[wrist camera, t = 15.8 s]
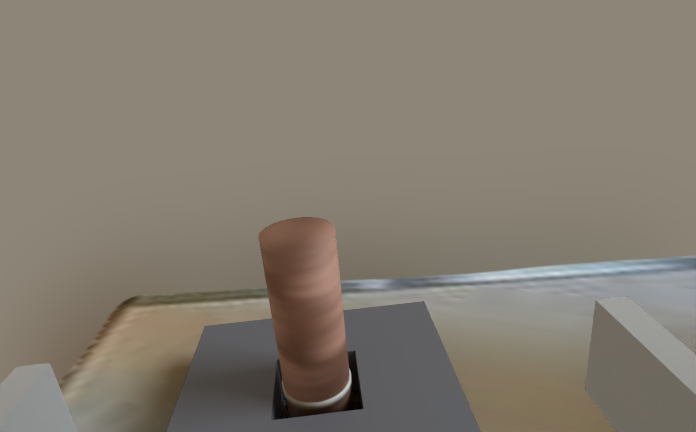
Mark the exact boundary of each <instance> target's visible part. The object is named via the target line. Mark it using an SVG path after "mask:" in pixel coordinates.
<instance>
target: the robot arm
mask: <svg viewBox="0 0 696 432" xmlns="http://www.w3.org/2000/svg"><path fill="white" fill-rule="evenodd" d="M585 390H586V392H587V393H588V394H589V396H590V397H591V398H592V400H593V401H594V402H595V404H596V405H597V406H598V408H599V409H600V410H601V411H602V413H603V414H604V415H605V417H606V418H607V419H608V421H609V422H610V423H611V425H612V426H613V427H614V429H615V430H616V431H617V432H696V354H695V353H693V352H692V351H691V350H690V349H689V348H688V347H686V346H685V345H684V344H683V343H682V342H680V341H679V340H678V339H677V338H676V337H674V336H673V335H672V334H671V333H670V332H669V331H667V330H666V329H665V328H664V327H663V326H661V325H660V324H659V323H658V322H657V321H655V320H654V319H653V318H652V317H651V316H649V315H648V314H647V313H646V312H645V311H644V310H642V309H641V308H640V307H639V306H638V305H636V304H635V303H634V302H633V301H632V300H630V299H629V298H628V297H627V296H625V297H617V298H608V299H599V300H596V302H595V310H594V318H593V326H592V335H591V343H590V351H589V359H588V367H587V376H586V384H585ZM0 432H78V431H77V429H76V426H75V424H74V421H73V419H72V416H71V414H70V412H69V409H68V407H67V404H66V402H65V399H64V397H63V395H62V392H61V390H60V387H59V385H58V382H57V380H56V378H55V375H54V373H53V370H52V368H51V365H50V363H45V364H36V365H28V366H19V367H16V368H15V369H14V370H13V371H12V373H11V374H10V375H9V376H8V377H7V378H6V379H5V380H4V381H3V382H2V384H1V385H0Z"/></svg>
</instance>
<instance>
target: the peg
mask: <svg viewBox="0 0 696 432" xmlns="http://www.w3.org/2000/svg"><path fill="white" fill-rule="evenodd" d="M259 242H260V247H261V254H262V260H263V266H264V271H265V278H266V284H267V290H268V296H269V302H270V308H271V314H272V320H273V326H274V332H275V338H276V343H277V349H278V355H279V361H280V367H281V373H282V388H283V393H284V396H285V398H286V403H287V409H288V415H289V418H294V417H302V416H310V415H318V414H326V413H335V412H343V411H351V410H353V403H352V393H351V383H352V379H351V372H350V369H349V363H348V353H347V344H346V334H345V324H344V314H343V304H342V294H341V284H340V274H339V265H338V256H337V245H336V235H335V227H334V225H333V223H331V222H330V221H327V220H325V219H321V218H313V217H301V218H293V219H287V220H283V221H280V222H277V223H274V224H272V225H270V226H268V227H266V228H265V229H263V230H262V231H261V232H260V234H259Z"/></svg>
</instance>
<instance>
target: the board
mask: <svg viewBox="0 0 696 432" xmlns="http://www.w3.org/2000/svg"><path fill="white" fill-rule="evenodd" d="M343 314H344V324H345V334H346V344H347V353H348V363H349V369H350V372H351V379H352V383H351V391H358V390H359V395H360V402H361V409H359V410H351V411H343V412H335V413H326V414H318V415H310V416H302V417H294V418H286V419H282V416H283V402H284V399H286V398H285V396H284V393H283V388H282V373H281V367H280V361H279V355H278V349H277V343H276V338H275V332H274V326H273V320H272V319H264V320H255V321H247V322H238V323H229V324H220V325H211V326H205V327H204V330H203V332H202V335H201V338H200V341H199V343H198V346H197V349H196V351H195V354H194V357H193V359H192V362H191V365H190V368H189V370H188V373H187V376H186V378H185V381H184V384H183V387H182V389H181V392H180V395H179V397H178V400H177V403H176V405H175V408H174V411H173V414H172V416H171V419H170V422H169V424H168V427H167V430H166V432H481V431H480V429H479V427H478V425H477V422H476V420H475V418H474V415H473V413H472V411H471V408H470V406H469V404H468V402H467V399H466V397H465V395H464V392H463V390H462V388H461V385H460V383H459V381H458V379H457V376H456V374H455V372H454V369H453V367H452V365H451V362H450V360H449V358H448V356H447V353H446V351H445V349H444V346H443V344H442V342H441V339H440V337H439V335H438V333H437V330H436V328H435V326H434V323H433V321H432V319H431V316H430V314H429V312H428V310H427V307H426V305H425V303H424V301H423V302H414V303H405V304H397V305H388V306H379V307H370V308H361V309H352V310H344V311H343Z"/></svg>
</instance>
